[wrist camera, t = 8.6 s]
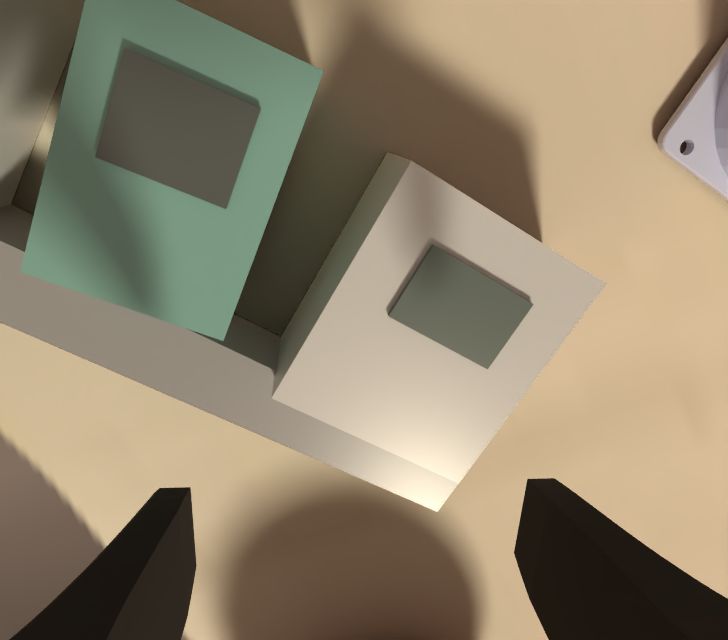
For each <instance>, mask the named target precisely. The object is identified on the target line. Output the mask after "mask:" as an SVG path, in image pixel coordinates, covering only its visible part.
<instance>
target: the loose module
mask: <svg viewBox="0 0 728 640" xmlns="http://www.w3.org/2000/svg"><path fill="white" fill-rule="evenodd" d="M323 72H324V71H323V70H321V69H319V68H316V67H314V66H312V65H310V64H308V63H306V62H304V61H302V60H300V59H298V58H296V57H293V56H291V55H289V54H287V53H285V52H283V51H281V50H279V49H277V48H275V47H273V46H271V45H268V44H266V43H264V42H262V41H260V40H258V39H256V38H254V37H252V36H250V35H248V34H245V33H243V32H241V31H239V30H237V29H235V28H233V27H231V26H229V25H227V24H225V23H223V22H220V21H218V20H216V19H214V18H212V17H210V16H208V15H206V14H204V13H202V12H200V11H197V10H195V9H193V8H191V7H189V6H187V5H185V4H183V3H181V2H179V1H177V0H85V3H84V7H83V11H82V15H81V19H80V23H79V28H78V32H77V36H76V40H75V44H74V49H73V53H72V57H71V61H70V65H69V70H68V74H67V78H66V82H65V86H64V90H63V95H62V99H61V103H60V107H59V111H58V116H57V120H56V124H55V128H54V132H53V137H52V141H51V145H50V149H49V153H48V157H47V162H46V166H45V170H44V174H43V178H42V183H41V187H40V191H39V195H38V199H37V204H36V208H35V212H34V216H33V220H32V224H31V229H30V233H29V237H28V241H27V245H26V250H25V254H24V258H23V262H22V266H21V271H20V272H22V273H25V274H28V275H31V276H33V277H36V278H39V279H42V280H45V281H48V282H51V283H54V284H57V285H60V286H63V287H66V288H69V289H72V290H75V291H78V292H81V293H83V294H86V295H89V296H92V297H95V298H98V299H101V300H104V301H107V302H110V303H113V304H116V305H119V306H122V307H125V308H128V309H130V310H133V311H136V312H139V313H142V314H145V315H148V316H151V317H154V318H157V319H160V320H163V321H166V322H169V323H172V324H175V325H178V326H180V327H183V328H186V329H189V330H192V331H195V332H198V333H201V334H204V335H207V336H210V337H213V338H216V339H219V340H222V341H224V338H225V335H226V332H227V330H228V327H229V324H230V322H231V319H232V316H233V314H234V311H235V308H236V306H237V303H238V300H239V298H240V295H241V292H242V290H243V287H244V284H245V282H246V279H247V276H248V273H249V271H250V268H251V265H252V263H253V260H254V257H255V255H256V252H257V249H258V247H259V244H260V241H261V239H262V236H263V233H264V231H265V228H266V225H267V222H268V220H269V217H270V214H271V212H272V209H273V206H274V204H275V201H276V198H277V196H278V193H279V190H280V188H281V185H282V182H283V179H284V177H285V174H286V171H287V169H288V166H289V163H290V161H291V158H292V155H293V153H294V150H295V147H296V145H297V142H298V139H299V136H300V134H301V131H302V128H303V126H304V123H305V120H306V118H307V115H308V112H309V110H310V107H311V104H312V102H313V99H314V96H315V93H316V91H317V88H318V85H319V83H320V80H321V77H322V75H323Z"/></svg>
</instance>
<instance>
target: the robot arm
mask: <svg viewBox="0 0 728 640" xmlns="http://www.w3.org/2000/svg"><path fill="white" fill-rule="evenodd" d="M684 141H686V143H687V148H686V150H685V151H684V152H683V153H681V152H680V146H681V144H682V143H683V142H684ZM657 144H658V148H659V150H660V151H661V152H662V153H663V154H665V155H666V156H667V157H669V158H670V159H671V160H673V161H674V162H675V163H677V164H678V165H680V166H681V167H682V168H684V169H685V170H686V171H688V172H689V173H690V174H692V175H693V176H694V177H696V178H697V179H698V180H700V181H701V182H702V183H704V184H705V185H706V186H708V187H709V188H710V189H712V190H713V191H714V192H716V193H717V194H718V195H720V196H721V197H722V198H724V199H725V200H726V201H728V38H727V39H726V41H725V42H724V43H723V45H722V46H721V48H720V49H719V50H718V52H717V53H716V55H715V56H714V58H713V59H712V60H711V62H710V63H709V65H708V66H707V67H706V69H705V70H704V72H703V73H702V74H701V76H700V77H699V79H698V80H697V81H696V83H695V84H694V86H693V87H692V89H691V90H690V91H689V93H688V94H687V96H686V97H685V98H684V100H683V101H682V103H681V104H680V105H679V107H678V108H677V110H676V111H675V112H674V114H673V115H672V117H671V118H670V120H669V121H668V122H667V124H666V125H665V127H664V128H663V129H662V131H661V132H660V134H659V136H658V141H657ZM514 554H515V557H516V560H517V563H518V567H519V570H520V573H521V576H522V579H523V582H524V584H525V587H526V590H527V593H528V596H529V599H530V601H531V603H532V605H533V607H534V609H535V612H536V614H537V616H538V618H539V620H540V622H541V624H542V626H543V628H544V631H545V633H546V635H547V637H548V639H549V640H728V599H727V598H726V597H724V596H722V595H720V594H719V593H717V592H715V591H714V590H712V589H710V588H709V587H707V586H706V585H704V584H702V583H701V582H699V581H698V580H696V579H694V578H693V577H691V576H690V575H688V574H687V573H685V572H684V571H682V570H681V569H679V568H678V567H676V566H675V565H673V564H672V563H670V562H669V561H667V560H666V559H664V558H663V557H661V556H660V555H659V554H657V553H656V552H654V551H653V550H651V549H650V548H649V547H647V546H646V545H644V544H643V543H642V542H640V541H639V540H637V539H636V538H635V537H633V536H632V535H630V534H629V533H628V532H626V531H625V530H624V529H622V528H621V527H620V526H618V525H617V524H616V523H614V522H613V521H612V520H610V519H609V518H607V517H606V516H605V515H604V514H602V513H601V512H600V511H598V510H597V509H596V508H594V507H593V506H592V505H590V504H589V503H588V502H586V501H585V500H584V499H582V498H581V497H580V496H578V495H577V494H576V493H574V492H573V491H571V490H570V489H569V488H567V487H566V486H565V485H563V484H562V483H560V482H559V481H557V480H556V479H554V478H551V479H528V480H527V485H526V491H525V496H524V501H523V507H522V512H521V518H520V523H519V529H518V534H517V540H516V545H515V551H514ZM195 571H196V555H195V542H194V529H193V516H192V502H191V489H190V487H189V488H159V489H158V490H157V491H156V492H155V493H154V494H153V495H152V496H151V497H150V499H149V500H148V501H147V502H146V503H145V504H144V506H143V507H142V508H141V509H140V510H139V511H138V513H137V514H136V515H135V516H134V517H133V518H132V519H131V521H130V522H129V523H128V524H127V525H126V526H125V527H124V528H123V529H122V531H121V532H120V533H119V534H118V535H117V536H116V537H115V538H114V539H113V540H112V542H111V543H110V544H109V545H108V546H107V547H106V548H105V549H104V550H103V551H102V552H101V553H100V554H99V555H98V556H97V558H96V559H95V560H94V561H93V562H92V563H91V564H90V565H89V566H88V567H87V568H86V569H85V570H84V571H83V572H82V573H81V574H80V575H79V576H78V577H77V578H76V579H75V580H74V581H73V582H72V583H71V584H70V585H69V586H68V587H67V588H66V589H65V590H64V591H63V592H62V593H61V594H59V595H58V596H57V598H56V599H54V600H53V602H51V603H50V604H49V605H48V606H47V607H46V608H45V609H44V610H43V611H42V612H41V613H39V614H38V615H37V616H36V617H35V618H34V619H33V620H32V621H31V622H29V623H28V624H27V625H26V626H25V627H24V628H22V629H21V630H20V631H19V632H18V633H17V634H16V635H14V636H13V637H12V638H11V639H10V640H181V637H182V634H183V630H184V627H185V623H186V620H187V616H188V610H189V605H190V600H191V594H192V588H193V583H194V577H195Z"/></svg>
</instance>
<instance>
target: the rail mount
mask: <svg viewBox="0 0 728 640" xmlns="http://www.w3.org/2000/svg"><path fill="white" fill-rule="evenodd" d="M84 3H85V0H0V322H1V323H3V324H5V325H7V326H10V327H12V328H14V329H17V330H19V331H21V332H24V333H26V334H28V335H31V336H33V337H35V338H37V339H40V340H42V341H44V342H47V343H49V344H51V345H54V346H56V347H58V348H60V349H63V350H65V351H67V352H70V353H72V354H74V355H77V356H79V357H81V358H84V359H86V360H88V361H90V362H93V363H95V364H97V365H100V366H102V367H104V368H107V369H109V370H111V371H114V372H116V373H118V374H120V375H123V376H125V377H127V378H130V379H132V380H134V381H137V382H139V383H141V384H143V385H146V386H148V387H150V388H153V389H155V390H157V391H160V392H162V393H164V394H167V395H169V396H171V397H173V398H176V399H178V400H180V401H183V402H185V403H187V404H190V405H192V406H194V407H197V408H199V409H201V410H203V411H206V412H208V413H210V414H213V415H215V416H217V417H220V418H222V419H224V420H227V421H229V422H231V423H233V424H236V425H238V426H240V427H243V428H245V429H247V430H250V431H252V432H254V433H256V434H259V435H261V436H263V437H266V438H268V439H270V440H273V441H275V442H277V443H280V444H282V445H284V446H286V447H289V448H291V449H293V450H296V451H298V452H300V453H303V454H305V455H307V456H310V457H312V458H314V459H316V460H319V461H321V462H323V463H326V464H328V465H330V466H333V467H335V468H337V469H340V470H342V471H344V472H346V473H349V474H351V475H353V476H356V477H358V478H360V479H363V480H365V481H367V482H369V483H372V484H374V485H376V486H379V487H381V488H383V489H386V490H388V491H390V492H393V493H395V494H397V495H399V496H402V497H404V498H406V499H409V500H411V501H413V502H416V503H418V504H420V505H423V506H425V507H427V508H429V509H432V510H434V511H436V512H438V510H439V509H440V507H441V506H442V505H443V503H444V502H445V501H446V499H447V498H448V497H449V495H450V494H451V493H452V491H453V490H454V489H455V487H456V486H457V484H459V482H460V481H461V480H462V478H463V477H464V476H465V474H466V473H467V472H468V470H469V469H470V468H471V466H472V465H473V464H474V462H475V461H476V459H477V458H478V457H479V455H480V454H481V453H482V451H483V450H484V449H485V447H486V446H487V445H488V443H489V442H490V441H491V439H492V438H493V436H494V435H495V434H496V432H497V431H498V430H499V428H500V427H501V426H502V424H503V423H504V422H505V420H506V419H507V418H508V416H509V415H510V413H511V412H512V411H513V409H514V408H515V407H516V405H517V404H518V403H519V401H520V400H521V399H522V397H523V396H524V395H525V393H526V392H527V390H528V389H529V388H530V386H531V385H532V384H533V382H534V381H535V380H536V378H537V377H538V376H539V374H540V373H541V371H542V370H543V369H544V367H545V366H546V365H547V363H548V362H549V361H550V359H551V358H552V357H553V355H554V354H555V353H556V351H557V350H558V348H559V347H560V346H561V344H562V343H563V342H564V340H565V339H566V338H567V336H568V335H569V334H570V332H571V331H572V330H573V328H574V327H575V325H576V324H577V323H578V321H579V320H580V319H581V317H582V316H583V315H584V313H585V312H586V311H587V309H588V308H589V307H590V305H591V304H592V302H593V301H594V300H595V298H596V297H597V296H598V294H599V293H600V292H601V290H602V289H603V288H604V286H605V285H606V283H604V282H603V281H601V280H600V279H598V278H597V277H595V276H593V275H592V274H590V273H589V272H587V271H585V270H584V269H582V268H581V267H579V266H578V265H576V264H574V263H573V262H571V261H570V260H568V259H567V258H565V257H563V256H562V255H560V254H559V253H557V252H555V251H554V250H552V249H551V248H549V247H548V246H546V245H544V244H543V243H541V242H540V241H538V240H536V239H535V238H533V237H532V236H530V235H529V234H527V233H525V232H524V231H522V230H521V229H519V228H518V227H516V226H514V225H513V224H511V223H510V222H508V221H506V220H505V219H503V218H502V217H500V216H499V215H497V214H495V213H494V212H492V211H491V210H489V209H488V208H486V207H484V206H483V205H481V204H480V203H478V202H476V201H475V200H473V199H472V198H470V197H469V196H467V195H465V194H464V193H462V192H461V191H459V190H458V189H456V188H454V187H453V186H451V185H450V184H448V183H446V182H445V181H443V180H442V179H440V178H439V177H437V176H435V175H434V174H432V173H431V172H429V171H428V170H426V169H424V168H423V167H421V166H420V165H418V164H416V163H415V162H413V161H412V160H409V159H406V158H403V157H400V156H398V155H395V154H392V153H389V152H387V154H386V155H385V157H384V159H383V161H382V162H381V164H380V166H379V167H378V169H377V171H376V173H375V174H374V176H373V178H372V180H371V181H370V183H369V185H368V187H367V188H366V190H365V192H364V194H363V195H362V197H361V199H360V200H359V202H358V204H357V206H356V207H355V209H354V211H353V213H352V214H351V216H350V218H349V220H348V221H347V223H346V225H345V227H344V228H343V230H342V232H341V233H340V235H339V237H338V239H337V240H336V242H335V244H334V246H333V247H332V249H331V251H330V253H329V254H328V256H327V258H326V260H325V261H324V263H323V265H322V267H321V268H320V270H319V272H318V273H317V275H316V277H315V279H314V280H313V282H312V284H311V286H310V287H309V289H308V291H307V293H306V294H305V296H304V298H303V300H302V301H301V303H300V305H299V306H298V308H297V310H296V312H295V313H294V315H293V317H292V319H291V320H290V322H289V324H288V326H287V327H286V329H285V331H284V333H283V334H282V336H281V337H280V336H278V335H276V334H274V333H272V332H270V331H268V330H266V329H264V328H261V327H259V326H257V325H255V324H253V323H251V322H249V321H247V320H245V319H243V318H241V317H239V316H237V315H235V314H233V316H232V319H231V322H230V324H229V327H228V330H227V332H226V335H225V338H224V341H222V340H219V339H216V338H213V337H210V336H207V335H204V334H201V333H198V332H195V331H192V330H189V329H186V328H183V327H180V326H178V325H175V324H172V323H169V322H166V321H163V320H160V319H157V318H154V317H151V316H148V315H145V314H142V313H139V312H136V311H133V310H130V309H128V308H125V307H122V306H119V305H116V304H113V303H110V302H107V301H104V300H101V299H98V298H95V297H92V296H89V295H86V294H83V293H81V292H78V291H75V290H72V289H69V288H66V287H63V286H60V285H57V284H54V283H51V282H48V281H45V280H42V279H39V278H36V277H33V276H31V275H28V274H25V273H22V272H20V271H21V266H22V262H23V258H24V254H25V250H26V245H27V241H28V237H29V233H30V229H31V224H32V220H33V216H34V215H32V214H30V213H28V212H26V211H24V210H22V209H20V208H18V207H16V206H13V205H11V202H12V200H13V197H14V195H15V192H16V189H17V187H18V184H19V182H20V179H21V177H22V174H23V172H24V169H25V166H26V164H27V161H28V159H29V156H30V154H31V151H32V149H33V146H34V143H35V141H36V138H37V136H38V133H39V131H40V128H41V126H42V123H43V120H44V118H45V115H46V113H47V110H48V108H49V105H50V103H51V100H52V97H53V95H54V92H55V90H56V87H57V85H58V82H59V80H60V77H61V74H62V72H63V69H64V67H65V64H66V62H67V59H68V57H69V54H70V52H71V49H72V46H73V44H74V41H75V39H76V36H77V32H78V28H79V23H80V19H81V15H82V11H83V7H84Z"/></svg>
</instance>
